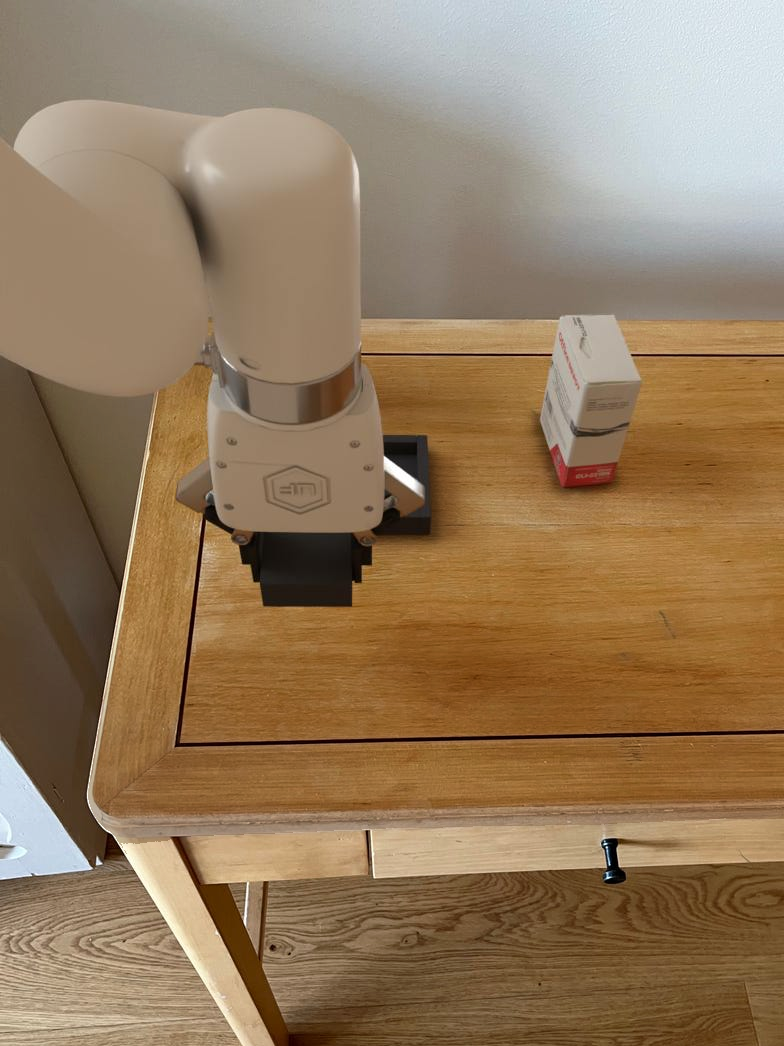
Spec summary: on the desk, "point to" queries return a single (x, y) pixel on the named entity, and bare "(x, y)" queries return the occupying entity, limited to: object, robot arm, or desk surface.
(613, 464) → the ink box
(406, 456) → the socket pad
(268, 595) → the black pad
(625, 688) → the desk surface
